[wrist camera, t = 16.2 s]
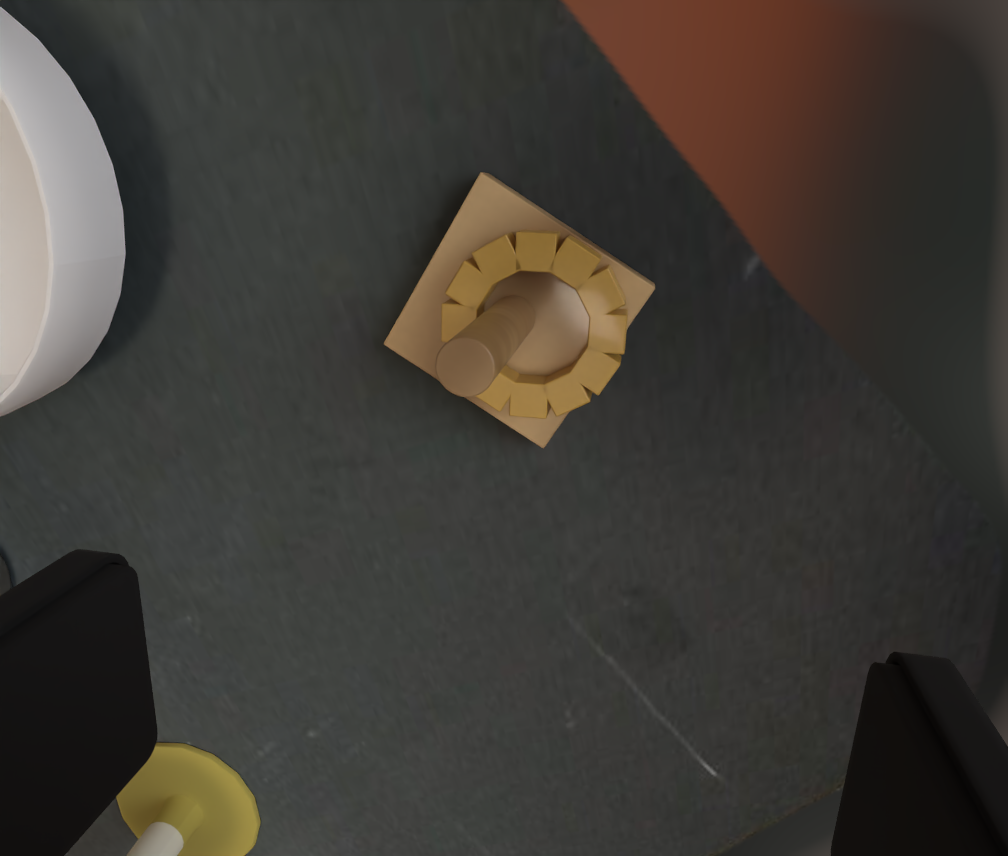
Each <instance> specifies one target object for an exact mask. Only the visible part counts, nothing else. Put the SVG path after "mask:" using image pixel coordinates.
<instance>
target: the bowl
mask: <svg viewBox="0 0 1008 856" xmlns="http://www.w3.org/2000/svg"><path fill="white" fill-rule="evenodd" d="M125 255H126V253H125V235H124V217H123V207H122V203H121V199H120V194H119V190H118V185H117V181H116V176H115V172H114V168H113V164H112V161H111V159H110V156H109V154H108V151H107V149H106V146H105V144H104V141H103V139H102V136H101V134H100V131H99V129H98V126H97V124H96V121H95V119H94V117H93V116H92V114H91V112H90V111H89V109H88V107H87V106H86V104H85V102H84V101H83V99H82V97H81V96H80V94H79V92H78V90H77V89H76V87H75V85H74V84H73V82H72V80H71V79H70V77H69V76H68V75H67V73H66V72H65V71H64V70H63V69H62V67H61V66H60V65H59V64H58V62H57V61H56V60H55V59H54V58H53V56H52V55H51V54H50V53H49V52H48V50H47V49H46V48H45V47H44V46H43V44H42V43H41V42H40V41H39V40H38V38H36V37H35V36H34V35H33V34H32V33H31V32H29V31H28V30H27V29H26V28H25V27H24V26H22V25H21V24H20V23H19V22H18V21H17V20H15V19H14V18H13V17H12V16H11V15H10V14H9V13H7V12H6V11H5V10H4V9H3V8H2V7H0V417H1V416H3V415H6V414H8V413H10V412H12V411H14V410H17V409H19V408H21V407H23V406H25V405H27V404H29V403H31V402H33V401H36V400H38V399H40V398H41V397H43V396H45V395H47V394H48V393H50V392H52V391H53V390H55V389H57V388H59V387H60V386H62V385H64V384H66V383H67V382H68V381H69V380H70V379H71V378H72V377H73V376H74V375H75V374H76V373H77V372H78V371H79V370H80V369H81V368H82V367H83V366H84V365H85V364H86V363H87V362H88V361H89V360H90V359H91V358H92V356H93V354H94V353H95V351H96V349H97V348H98V346H99V345H100V343H101V341H102V340H103V338H104V336H105V335H106V333H107V332H108V330H109V327H110V324H111V321H112V318H113V315H114V312H115V309H116V306H117V303H118V300H119V297H120V294H121V286H122V278H123V270H124V263H125Z"/></svg>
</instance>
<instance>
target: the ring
mask: <svg viewBox="0 0 1008 856" xmlns="http://www.w3.org/2000/svg"><path fill="white" fill-rule="evenodd" d="M472 256H473V258H474V259H473V258H470V259H467V260H465V261H463V262H462V264H461V266H460V268H459V269H458V271H457V273H456V274H455V276H454V278H453V279H452V281H451V283H450V285H449V286H448V288H447V290H446V291H445V294H446V295H447V296H449V297H450V298H452V299H449V300H447V301H446V302H444V303H442V305H441V341H442V342H448V341H449V340H450V339H452V338H453V337H454V336H455V335H457V334H458V333H459V332H460V331H461V330H463V329H464V328H465V327H466V326H468V325H469V324H470V323H471V322H473V321H474V320H475V319H476V318H478V317H479V316H480V315H481V314H483V313H484V304H485V303H486V301H487V300H488V298H489V296H490V295H491V293H492V291H493V290H494V288H495V286H496V285H497V283H498V282H500V281H501V280H503V279H505V278H507V277H509V276H511V275H513V274H515V273H517V272H519V271H528V272H547V273H551V274H553V275H554V276H556V277H557V278H559V279H560V280H562V281H563V282H565V283H566V284H568V285H569V286H571V287H572V288H574V289H575V290H576V292H577V294H578V296H579V298H580V300H581V302H582V304H583V306H584V308H585V310H586V312H587V314H588V316H589V326H588V340H587V344H586V346H585V347H584V349H583V350H582V352H581V353H580V355H579V356H578V358H577V359H576V361H575V362H574V363H573V364H572V365H570V366H568V367H566V368H564V369H562V370H560V371H558V372H555V373H553V374H551V375H549V376H541V375H528V374H519V373H518V372H516V371H515V370H513V369H511V368H510V367H508V366H507V365H505V366H504V368H503V369H502V370H501V372H500V373H499V374H498V376H497V377H496V378H495V380H494V381H493V382H492V384H491V385H490V386H489V387H488V388H487V389H486V390H485V391H484V392H483V393H481V394H479V395H476V396H475V397H477V398H478V399H480V400H482V401H483V402H485V403H486V404H488V405H489V406H491V407H492V408H494V409H495V410H497V411H498V412H500V411H502V409H503V408H504V406H505V405H506V403H507V401H508V400H509V398H510V404H509V416H515V417H527V418H539V419H546V418H547V416H548V414H549V411H550V409H551V408H552V410H553V412H554V414H555V416H556V417H558V416H560V415H563V414H565V413H567V412H569V411H571V410H574V409H576V408H578V407H580V406H582V405H585V404H587V403H589V402H590V400H591V395H592V392H593V393H595V394H597V395H599V394H600V393H601V391H602V390H603V389H604V387H605V386H606V384H607V383H608V382H609V380H610V379H611V377H612V376H613V375H614V373H615V372H616V370H617V369H618V367H619V366H620V364H621V356H620V355H619V354H624V353H625V342H626V331H627V319H628V310H627V309H618V308H620V307H622V306H624V305H625V304H626V297H625V295H624V293H623V291H622V289H621V287H620V285H619V283H618V281H617V279H616V276H615V274H614V272H613V270H612V268H611V266H610V265H607V266H605V267H603V268H601V269H599V270H597V271H595V272H594V270H595V269H596V267H597V265H598V264H599V262H600V261H601V259H602V255H600V254H599V253H597V252H595V251H594V250H592V249H591V248H589V247H588V246H586V245H585V244H583V243H582V242H580V241H579V240H577V239H576V238H574V237H573V236H571V235H570V236H568V237H567V238H566V239H565V240H564V242H563V244H562V245H561V247H560V232H559V231H541V230H521V231H518V232H516V239H515V237H514V235H513V233H512V232H511V233H508V234H505V235H503V236H501V237H499V238H498V239H496V240H494V241H492V242H490V243H488V244H487V245H485V246H483V247H481V248H479V249H477V250H476V251H474V252H472Z"/></svg>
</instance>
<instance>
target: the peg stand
mask: <svg viewBox="0 0 1008 856" xmlns="http://www.w3.org/2000/svg"><path fill="white" fill-rule="evenodd" d="M521 230H541V231H559V232H560V247H561V245H562V244H563V242H564V240H565V239H566V238H567V237H568V236H570V235H571V236H573V237H574V238H576V239H577V240H579V241H580V242H582V243H583V244H585V245H586V246H588V247H589V248H591V249H592V250H594V251H595V252H597V253H599V254H600V255H602V259H601V261H600V262H599V264H598V265H597V267H596V269H595V270H594V272H595V271H597V270H599V269H601V268H603V267H605V266H607V265H610V266H611V268H612V270H613V272H614V274H615V276H616V279H617V281H618V283H619V285H620V287H621V289H622V291H623V293H624V295H625V297H626V304H625V305H624V306H622V307H620V308H618V309H627V310H628V319H627V328H628V327H629V325H630V324H631V323H632V321H633V320H634V318H635V317H636V315H637V314H638V313H639V311H640V310H641V308H642V307H643V305H644V304H645V303H646V301H647V300H648V298H649V297H650V295H651V294H652V293H653V291H654V290H655V284H654V283H653V282H652V281H650V280H649V279H647V278H646V277H644V276H643V275H641V274H640V273H638V272H637V271H635V270H634V269H632V268H631V267H629V266H628V265H626V264H625V263H623V262H622V261H620V260H618V259H617V258H615V257H614V256H612V255H611V254H609V253H608V252H606V251H605V250H603V249H602V248H600V247H599V246H597V245H596V244H594V243H593V242H591V241H590V240H588V239H587V238H585V237H584V236H582V235H581V234H579V233H578V232H576V231H575V230H573V229H572V228H570V227H569V226H567V225H566V224H564V223H563V222H561V221H560V220H558V219H557V218H555V217H554V216H552V215H551V214H549V213H548V212H546V211H545V210H543V209H542V208H540V207H539V206H537V205H536V204H534V203H533V202H531V201H530V200H528V199H526V198H525V197H523V196H522V195H520V194H519V193H517V192H516V191H514V190H513V189H511V188H510V187H508V186H507V185H505V184H504V183H502V182H501V181H499V180H498V179H496V178H495V177H493V176H492V175H490V174H489V173H482V172H481V173H480V174H479V176H478V178H477V180H476V181H475V183H474V185H473V187H472V188H471V190H470V192H469V194H468V195H467V197H466V199H465V201H464V203H463V204H462V206H461V208H460V210H459V211H458V213H457V215H456V217H455V218H454V220H453V222H452V224H451V225H450V227H449V229H448V231H447V232H446V234H445V236H444V238H443V240H442V241H441V243H440V245H439V247H438V248H437V250H436V252H435V254H434V255H433V257H432V259H431V261H430V262H429V264H428V266H427V268H426V270H425V271H424V273H423V275H422V277H421V278H420V280H419V282H418V284H417V285H416V287H415V289H414V291H413V292H412V294H411V296H410V298H409V300H408V301H407V303H406V305H405V307H404V308H403V310H402V312H401V314H400V315H399V317H398V319H397V321H396V322H395V324H394V326H393V328H392V330H391V331H390V333H389V335H388V337H387V338H386V340H385V342H384V345H385V346H387V347H388V348H390V349H391V350H393V351H395V352H396V353H398V354H399V355H401V356H402V357H404V358H405V359H407V360H408V361H410V362H411V363H413V364H414V365H416V366H417V367H419V368H421V369H422V370H424V371H425V372H427V373H428V374H430V375H431V376H433V377H434V378H436V379H437V380H439V381H440V382H441V384H442V385H443V386H444V387H445V388H446V389H447V390H448V391H449V392H451V393H453V394H455V395H458V396H461V397H465V398H466V399H468V400H470V401H471V402H473V403H474V404H476V405H477V406H479V407H480V408H482V409H483V410H485V411H486V412H488V413H489V414H491V415H492V416H494V417H496V418H497V419H499V420H500V421H502V422H503V423H505V424H506V425H508V426H509V427H511V428H512V429H514V430H515V431H517V432H518V433H520V434H522V435H523V436H525V437H526V438H528V439H529V440H531V441H532V442H534V443H535V444H537V445H538V446H540V447H541V448H544V447H545V446H546V444H547V443H548V441H549V440H550V439H551V437H552V436H553V434H554V433H555V431H556V430H557V429H558V427H559V426H560V424H561V423H562V421H563V420H564V419H565V417H566V416H567V414H568V413H569V412H567V413H565V414H563V415H560V416H558V417H556V416H555V414H554V412H553V410H552V408H551V409H550V411H549V414H548V416H547V418H546V419H539V418H527V417H515V416H509V404H510V398H509V400H508V401H507V403H506V405H505V406H504V408H503V409H502V411H500V412H498V411H497V410H495V409H494V408H492V407H491V406H489V405H488V404H486V403H485V402H483V401H482V400H480V399H478V398H477V397H475V396H476V395H479V394H481V393H483V392H484V391H485V390H486V389H487V388H488V387H489V386H490V385H491V384H492V382H493V381H494V380H495V378H496V377H497V376H498V374H499V373H500V372H501V370H502V369H503V368H504V366H505V365H507V366H508V367H510V368H511V369H513V370H515V371H516V372H518V373H519V374H528V375H541V376H549V375H551V374H553V373H555V372H558V371H560V370H562V369H564V368H566V367H568V366H570V365H572V364H573V363H574V362H575V361H576V359H577V358H578V356H579V355H580V353H581V352H582V350H583V349H584V347H585V346H586V344H587V340H588V326H589V316H588V314H587V312H586V310H585V308H584V306H583V304H582V302H581V300H580V298H579V296H578V294H577V292H576V290H575V289H574V288H572V287H571V286H569V285H568V284H566V283H565V282H563V281H562V280H560V279H559V278H557V277H556V276H554V275H553V274H551V273H547V272H528V271H519V272H517V273H515V274H513V275H511V276H509V277H507V278H505V279H503V280H501V281H500V282H498V283H497V285H496V286H495V288H494V290H493V291H492V293H491V295H490V296H489V298H488V300H487V301H486V303H485V304H484V313H483V314H481V315H480V316H479V317H478V318H476V319H475V320H474V321H473V322H471V323H470V324H469V325H468V326H466V327H465V328H464V329H463V330H461V331H460V332H459V333H458V334H457V335H455V336H454V337H453V338H452V339H450V340H449V341H448V342H442V341H441V305H442V303H444V302H446V301H447V300H449V299H452V298H450V297H449V296H447V295H446V294H445V291H446V290H447V288H448V286H449V285H450V283H451V281H452V279H453V278H454V276H455V274H456V273H457V271H458V269H459V268H460V266H461V264H462V262H463V261H465V260H467V259H470V258H473V256H472V252H474V251H476V250H477V249H479V248H481V247H483V246H485V245H487V244H488V243H490V242H492V241H494V240H496V239H498V238H499V237H501V236H503V235H505V234H508V233H511V232H512V233H513V235H514V237H515V239H516V232H518V231H521ZM473 259H474V258H473Z"/></svg>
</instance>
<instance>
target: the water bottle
mask: <svg viewBox="0 0 1008 856" xmlns="http://www.w3.org/2000/svg"><path fill="white" fill-rule="evenodd" d="M10 589H11V577H10V573H9V569H8V567H7V564H6V562H5V560H4V558H3V557H2V555H1V554H0V595H2V594H4V593H5V592H7V591H9V590H10Z"/></svg>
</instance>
